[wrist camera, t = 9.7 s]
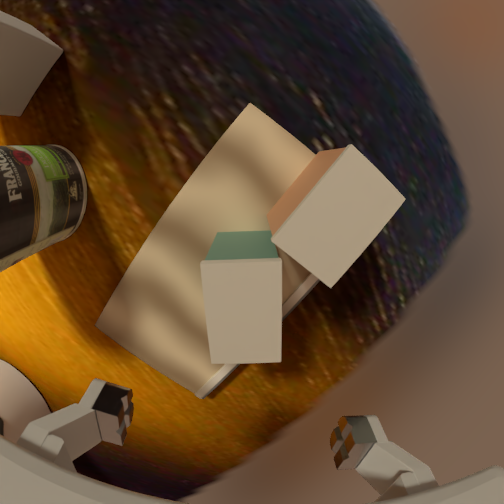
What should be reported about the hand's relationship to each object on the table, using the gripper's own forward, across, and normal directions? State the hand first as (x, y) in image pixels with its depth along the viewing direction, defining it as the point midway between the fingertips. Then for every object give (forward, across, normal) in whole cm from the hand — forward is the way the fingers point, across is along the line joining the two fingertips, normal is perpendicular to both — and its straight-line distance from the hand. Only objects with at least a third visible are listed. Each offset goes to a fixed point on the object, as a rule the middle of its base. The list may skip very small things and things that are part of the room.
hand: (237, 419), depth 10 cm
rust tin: (+16, -5, -7) cm, 19 cm away
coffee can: (+19, +21, -4) cm, 28 cm away
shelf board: (+18, +2, +1) cm, 18 cm away
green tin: (+17, 0, 0) cm, 17 cm away
